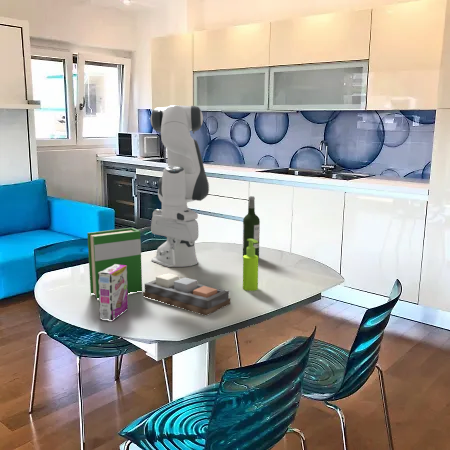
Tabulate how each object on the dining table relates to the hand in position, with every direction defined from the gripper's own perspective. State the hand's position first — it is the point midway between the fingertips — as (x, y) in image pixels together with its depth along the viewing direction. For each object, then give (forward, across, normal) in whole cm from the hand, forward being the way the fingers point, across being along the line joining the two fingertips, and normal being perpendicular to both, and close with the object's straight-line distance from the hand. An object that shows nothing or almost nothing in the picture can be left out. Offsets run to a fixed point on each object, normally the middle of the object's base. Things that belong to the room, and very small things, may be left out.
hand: (173, 249), depth 178 cm
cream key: (+14, -3, 0) cm, 15 cm away
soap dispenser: (+18, +18, +25) cm, 36 cm away
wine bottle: (+19, -6, +63) cm, 66 cm away
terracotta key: (+16, +15, 0) cm, 22 cm away
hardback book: (+19, -20, -10) cm, 29 cm away
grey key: (+14, +6, 0) cm, 15 cm away
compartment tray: (+18, +6, 0) cm, 19 cm away
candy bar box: (+19, -4, -25) cm, 32 cm away
